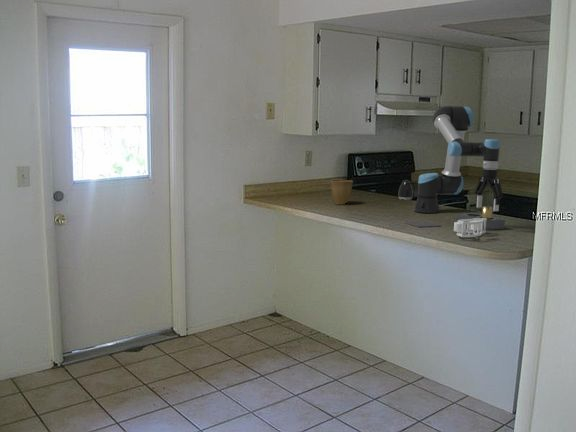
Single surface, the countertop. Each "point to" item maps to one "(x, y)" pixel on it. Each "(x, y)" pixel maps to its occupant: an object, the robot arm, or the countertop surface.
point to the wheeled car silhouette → (470, 227)
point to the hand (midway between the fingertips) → (487, 209)
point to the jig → (490, 223)
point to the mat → (423, 224)
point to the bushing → (487, 212)
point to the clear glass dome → (405, 190)
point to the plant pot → (341, 190)
